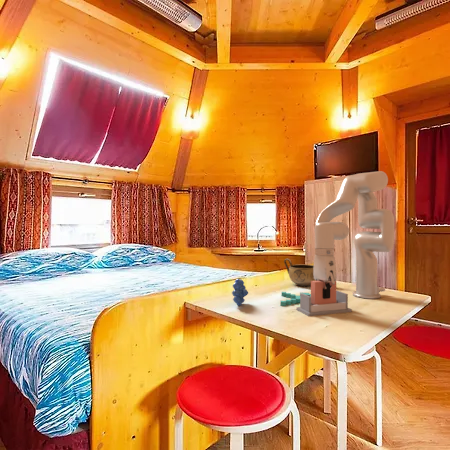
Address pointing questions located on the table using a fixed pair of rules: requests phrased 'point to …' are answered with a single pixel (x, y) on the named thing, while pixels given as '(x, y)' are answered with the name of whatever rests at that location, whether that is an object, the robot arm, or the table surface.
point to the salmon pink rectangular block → (318, 293)
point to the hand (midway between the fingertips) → (323, 296)
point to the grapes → (239, 292)
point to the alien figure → (293, 297)
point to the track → (324, 305)
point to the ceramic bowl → (300, 273)
